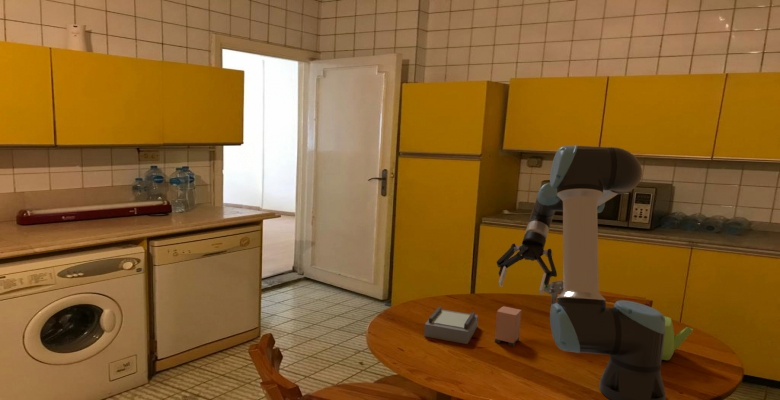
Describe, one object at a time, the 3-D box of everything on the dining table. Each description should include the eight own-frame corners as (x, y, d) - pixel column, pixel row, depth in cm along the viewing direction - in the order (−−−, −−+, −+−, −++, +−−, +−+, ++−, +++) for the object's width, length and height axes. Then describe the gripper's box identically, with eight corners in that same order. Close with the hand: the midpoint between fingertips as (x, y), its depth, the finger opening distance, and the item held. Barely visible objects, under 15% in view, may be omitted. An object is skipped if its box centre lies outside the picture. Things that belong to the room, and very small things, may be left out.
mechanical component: (540, 308, 193) (542, 282, 192) (560, 305, 197) (562, 280, 196) (545, 310, 190) (547, 284, 189) (566, 307, 195) (568, 282, 194)
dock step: (467, 344, 156) (468, 327, 156) (424, 336, 161) (424, 319, 160) (477, 326, 171) (478, 311, 170) (437, 320, 176) (438, 304, 175)
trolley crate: (500, 335, 164) (503, 306, 163) (519, 340, 161) (521, 309, 160) (494, 341, 159) (496, 311, 158) (513, 346, 156) (515, 315, 155)
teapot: (689, 350, 158) (693, 310, 157) (688, 375, 141) (694, 330, 140) (624, 336, 168) (628, 298, 166) (617, 358, 150) (621, 316, 149)
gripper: (573, 248, 175) (560, 301, 164) (502, 238, 187) (486, 287, 176) (571, 235, 169) (557, 289, 158) (499, 226, 182) (482, 275, 171)
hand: (520, 288), depth 167 cm, fingers open, 13 cm apart
